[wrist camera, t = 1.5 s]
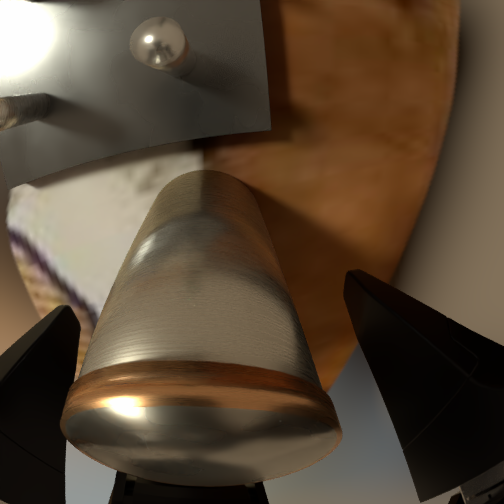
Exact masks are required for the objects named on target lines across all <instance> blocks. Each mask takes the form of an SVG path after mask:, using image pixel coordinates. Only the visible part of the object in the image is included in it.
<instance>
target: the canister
mask: <svg viewBox="0 0 504 504" xmlns="http://www.w3.org/2000/svg"><path fill="white" fill-rule="evenodd" d="M60 427H61V431H62V433H63V434H64V436H65V437H66V439H67V440H68V441H69V442H70V443H71V444H72V445H73V446H74V447H75V448H77V449H78V450H79V451H81V452H82V453H83V454H85V455H87V456H88V457H90V458H91V459H93V460H95V461H97V462H99V463H101V464H103V465H105V466H108V467H110V468H112V469H115V470H117V471H120V472H122V473H125V474H129V475H132V476H135V477H139V478H143V479H147V480H151V481H156V482H161V483H168V484H175V485H184V486H205V487H214V486H233V485H242V484H250V483H256V482H262V481H266V480H271V479H274V478H278V477H282V476H285V475H288V474H291V473H294V472H297V471H299V470H302V469H304V468H306V467H309V466H311V465H313V464H314V463H316V462H318V461H320V460H322V459H323V458H325V457H326V456H327V455H329V454H330V453H331V452H332V451H333V450H334V449H335V448H336V447H337V446H338V444H339V443H340V441H341V439H342V430H341V426H340V423H339V420H338V417H337V414H336V411H335V408H334V405H333V402H332V400H331V398H330V397H329V395H328V394H327V393H326V392H325V391H324V390H323V389H322V386H321V383H320V380H319V377H318V374H317V371H316V368H315V365H314V362H313V359H312V356H311V353H310V350H309V347H308V344H307V341H306V338H305V335H304V332H303V329H302V326H301V323H300V321H299V318H298V315H297V312H296V309H295V306H294V303H293V300H292V297H291V295H290V292H289V289H288V286H287V283H286V280H285V278H284V275H283V272H282V269H281V266H280V264H279V261H278V258H277V255H276V252H275V250H274V247H273V244H272V241H271V239H270V236H269V233H268V230H267V228H266V225H265V222H264V219H263V217H262V214H261V211H260V209H259V206H258V203H257V201H256V199H255V197H254V196H253V194H252V193H251V191H250V190H249V189H248V188H247V187H246V186H245V185H244V184H243V183H242V182H241V181H239V180H238V179H236V178H234V177H232V176H230V175H228V174H226V173H222V172H219V171H213V170H197V171H192V172H188V173H185V174H183V175H180V176H178V177H177V178H175V179H173V180H172V181H170V182H169V183H168V184H167V185H166V186H165V187H164V188H163V189H162V190H161V191H160V193H159V194H158V196H157V198H156V199H155V201H154V203H153V205H152V207H151V208H150V210H149V212H148V214H147V216H146V218H145V220H144V222H143V223H142V225H141V227H140V229H139V231H138V233H137V235H136V237H135V239H134V241H133V243H132V245H131V247H130V249H129V251H128V253H127V255H126V258H125V260H124V262H123V264H122V266H121V268H120V270H119V273H118V275H117V277H116V279H115V282H114V284H113V286H112V288H111V291H110V293H109V295H108V298H107V300H106V303H105V305H104V307H103V310H102V312H101V315H100V317H99V320H98V323H97V325H96V328H95V330H94V333H93V336H92V339H91V341H90V344H89V347H88V350H87V353H86V356H85V359H84V362H83V365H82V368H81V371H80V374H79V377H78V379H77V380H76V381H75V382H74V383H73V384H72V386H71V387H70V388H69V392H68V395H67V398H66V402H65V406H64V409H63V413H62V417H61V421H60Z"/></svg>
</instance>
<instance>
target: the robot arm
mask: <svg viewBox="0 0 504 504" xmlns="http://www.w3.org/2000/svg"><path fill="white" fill-rule="evenodd" d="M343 295H344V300H345V303H346V306H347V309H348V312H349V315H350V318H351V321H352V324H353V327H354V330H355V333H356V336H357V339H358V342H359V344H360V346H361V348H362V351H363V353H364V355H365V358H366V360H367V362H368V364H369V367H370V369H371V371H372V374H373V376H374V378H375V381H376V383H377V385H378V388H379V390H380V392H381V395H382V398H383V400H384V402H385V405H386V407H387V410H388V413H389V415H390V418H391V420H392V423H393V425H394V428H395V431H396V433H397V436H398V439H399V441H400V444H401V447H402V449H403V453H404V456H405V459H406V461H407V464H408V467H409V470H410V473H411V476H412V479H413V482H414V485H415V488H416V492H417V495H418V498H419V500H420V502H424V501H427V500H429V499H432V498H434V497H436V496H439V495H441V494H443V493H445V492H448V491H450V490H452V489H454V488H456V487H458V486H459V489H460V491H459V492H458V493H456V494H455V495H453V496H452V497H451V498H450V501H449V503H448V504H504V346H502V345H500V344H498V343H496V342H494V341H492V340H490V339H488V338H486V337H484V336H482V335H480V334H478V333H476V332H474V331H472V330H470V329H468V328H466V327H464V326H463V325H461V324H459V323H457V322H455V321H454V320H452V319H450V318H447V317H446V316H445V315H443V314H441V313H440V312H438V311H436V310H434V309H432V308H431V307H429V306H427V305H425V304H423V303H422V302H420V301H418V300H416V299H414V298H413V297H411V296H409V295H407V294H405V293H403V292H402V291H400V290H398V289H396V288H394V287H392V286H391V285H389V284H387V283H385V282H383V281H381V280H379V279H377V278H376V277H374V276H372V275H370V274H368V273H366V272H364V271H362V270H360V269H356V270H350V271H348V272H347V273H346V276H345V284H344V291H343ZM80 332H81V326H80V322H79V321H78V319H77V317H76V315H75V313H74V312H73V310H72V308H71V307H70V306H69V305H60V306H58V307H56V308H55V309H54V310H53V311H52V312H50V313H49V314H48V315H47V316H45V317H44V318H43V319H42V320H41V321H40V322H38V323H37V324H36V325H35V326H34V327H32V328H31V329H30V330H29V331H28V332H26V334H24V335H23V336H22V337H21V338H20V339H18V340H17V341H16V342H15V343H14V344H13V345H12V346H11V347H10V348H8V349H7V350H6V351H5V352H4V353H3V354H2V355H1V356H0V504H66V500H65V458H66V440H67V439H66V437H65V436H64V434H63V433H62V431H61V427H60V421H61V417H62V413H63V409H64V406H65V402H66V398H67V395H68V392H69V388H70V387H71V386H72V384H73V383H74V378H75V372H76V365H77V356H78V347H79V339H80ZM108 504H269V502H268V499H267V495H266V492H265V488H264V485H263V481H262V482H256V483H250V484H242V485H233V486H214V487H205V486H184V485H175V484H168V483H161V482H156V481H151V480H147V479H143V478H139V477H135V476H132V475H129V474H125V473H122V472H120V471H117V473H116V478H115V484H114V487H113V490H112V493H111V496H110V500H109V503H108Z"/></svg>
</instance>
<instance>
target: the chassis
mask: <svg viewBox="0 0 504 504" xmlns="http://www.w3.org/2000/svg"><path fill="white" fill-rule="evenodd" d="M269 130H271V118H270V105H269V92H268V80H267V69H266V58H265V47H264V37H263V27H262V17H261V8H260V0H0V160H1V165H2V169H3V173H4V177H5V181H6V184H7V187H8V190H9V189H12V188H14V187H16V186H19V185H22V184H24V183H27V182H29V181H32V180H35V179H37V178H40V177H43V176H46V175H49V174H52V173H55V172H58V171H61V170H64V169H67V168H70V167H73V166H77V165H80V164H83V163H87V162H90V161H94V160H98V159H101V158H105V157H109V156H113V155H117V154H121V153H125V152H129V151H134V150H138V149H143V148H147V147H152V146H157V145H162V144H168V143H173V142H179V141H185V140H191V139H198V138H204V137H211V136H219V135H227V134H236V133H246V132H257V131H269Z"/></svg>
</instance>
